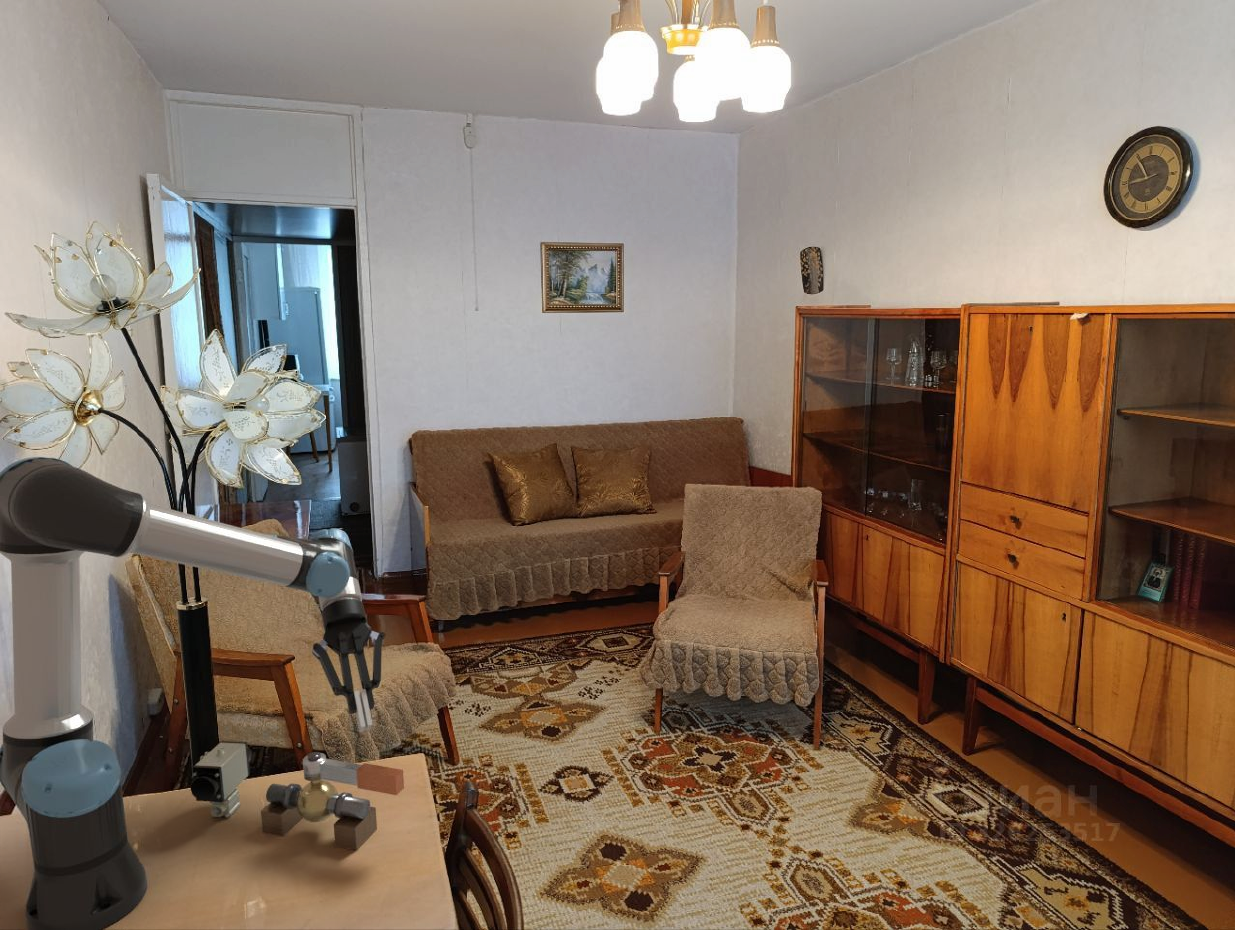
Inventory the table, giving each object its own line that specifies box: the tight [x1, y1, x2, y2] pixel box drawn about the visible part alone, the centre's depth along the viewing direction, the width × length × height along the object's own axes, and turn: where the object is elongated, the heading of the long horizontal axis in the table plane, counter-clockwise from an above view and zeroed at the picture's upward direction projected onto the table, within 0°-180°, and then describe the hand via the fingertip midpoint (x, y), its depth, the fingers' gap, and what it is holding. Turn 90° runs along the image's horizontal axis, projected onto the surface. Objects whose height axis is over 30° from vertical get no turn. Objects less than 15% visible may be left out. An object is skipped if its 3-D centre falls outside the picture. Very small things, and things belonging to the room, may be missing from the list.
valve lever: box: [302, 751, 405, 796], centre depth 138 cm, size 18×4×4 cm, turn 73°
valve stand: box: [260, 779, 378, 852], centre depth 142 cm, size 18×7×10 cm, turn 74°
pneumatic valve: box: [190, 740, 253, 818], centre depth 147 cm, size 6×12×12 cm, turn 174°
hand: (365, 728), depth 146 cm, fingers closed
